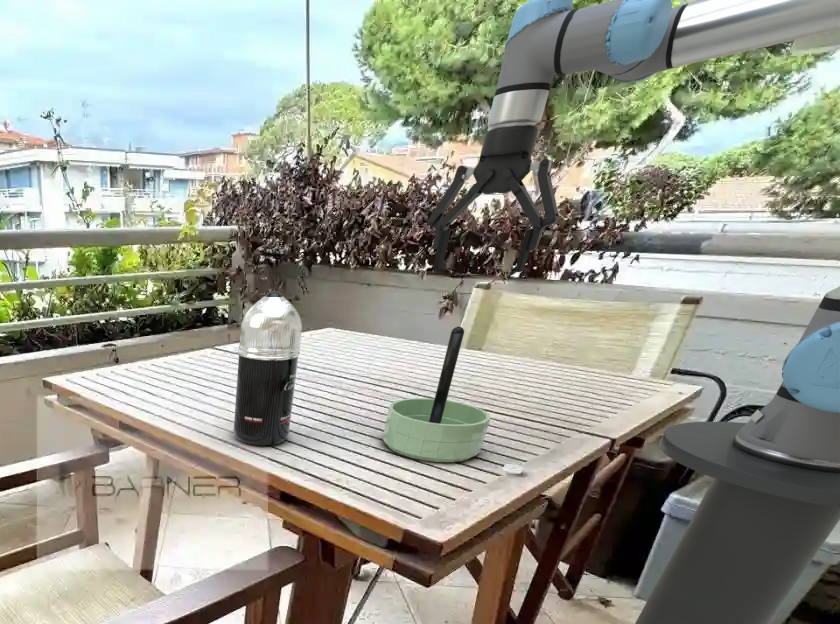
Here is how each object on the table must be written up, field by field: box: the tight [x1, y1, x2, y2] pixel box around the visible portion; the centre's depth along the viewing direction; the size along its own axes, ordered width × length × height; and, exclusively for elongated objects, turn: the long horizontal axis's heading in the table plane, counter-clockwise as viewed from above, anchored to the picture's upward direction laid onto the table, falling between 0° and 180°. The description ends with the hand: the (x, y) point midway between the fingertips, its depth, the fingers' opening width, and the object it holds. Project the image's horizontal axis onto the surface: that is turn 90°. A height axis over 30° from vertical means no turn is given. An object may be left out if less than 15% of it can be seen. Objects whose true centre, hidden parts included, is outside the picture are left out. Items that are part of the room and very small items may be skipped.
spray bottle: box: [233, 290, 303, 447], centre depth 94 cm, size 10×10×25 cm
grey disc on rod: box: [429, 326, 465, 424], centre depth 90 cm, size 5×5×19 cm
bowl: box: [382, 397, 491, 463], centre depth 93 cm, size 15×15×6 cm
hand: (476, 270), depth 99 cm, fingers open, 13 cm apart
